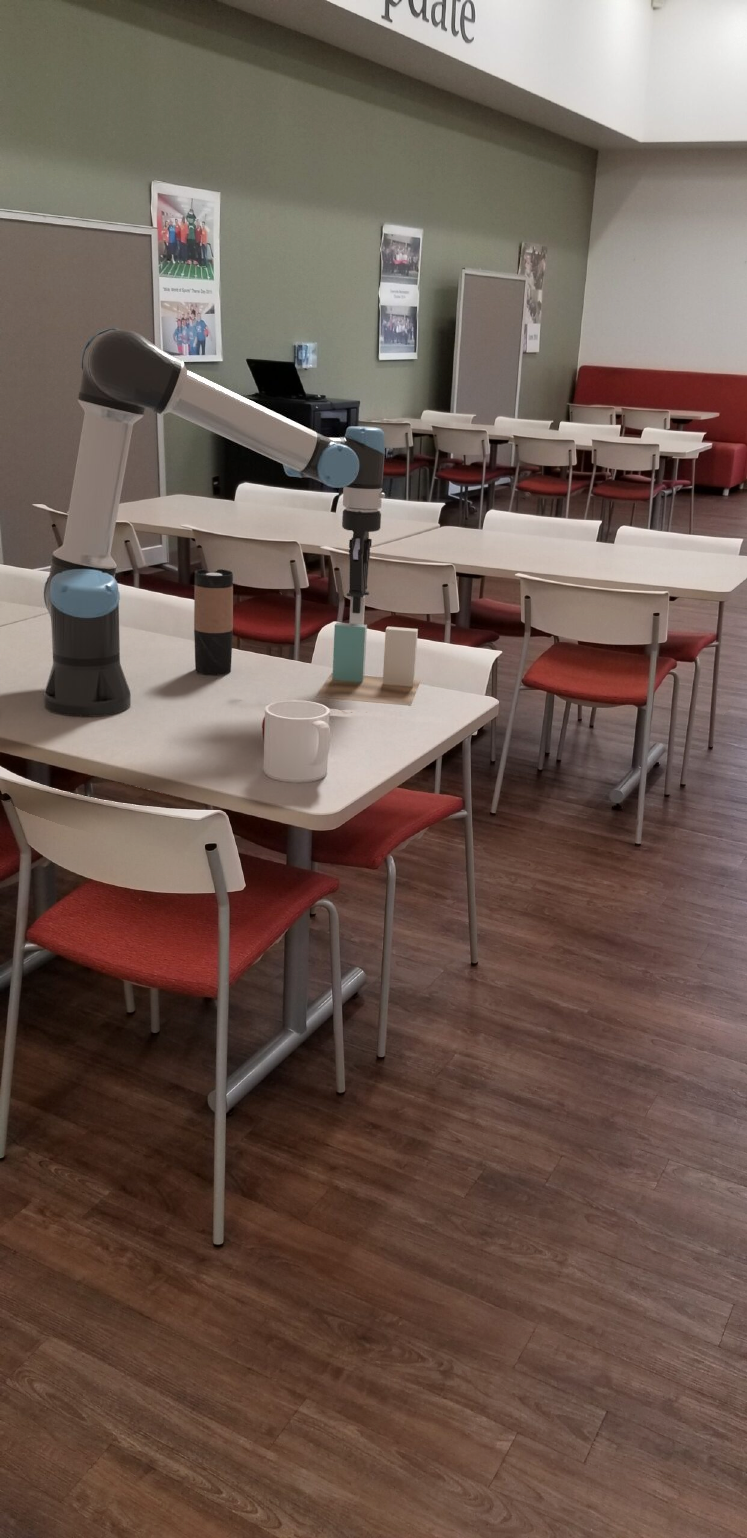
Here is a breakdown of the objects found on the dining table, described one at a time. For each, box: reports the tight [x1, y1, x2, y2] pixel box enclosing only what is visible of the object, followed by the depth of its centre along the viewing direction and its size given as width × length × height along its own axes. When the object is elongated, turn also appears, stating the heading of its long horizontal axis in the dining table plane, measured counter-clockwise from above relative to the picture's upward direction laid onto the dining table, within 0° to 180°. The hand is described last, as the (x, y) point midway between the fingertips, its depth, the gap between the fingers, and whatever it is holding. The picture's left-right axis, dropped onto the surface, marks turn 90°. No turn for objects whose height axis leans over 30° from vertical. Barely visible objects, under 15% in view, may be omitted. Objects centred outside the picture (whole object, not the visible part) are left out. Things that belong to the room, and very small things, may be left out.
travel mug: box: [193, 568, 234, 676], centre depth 238 cm, size 8×8×20 cm
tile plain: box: [382, 626, 419, 687], centre depth 233 cm, size 2×6×11 cm, turn 82°
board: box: [315, 672, 421, 707], centre depth 231 cm, size 18×18×1 cm
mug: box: [263, 699, 331, 784], centre depth 185 cm, size 13×10×10 cm
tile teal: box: [332, 621, 368, 682], centre depth 234 cm, size 2×6×11 cm, turn 82°
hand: (356, 627), depth 240 cm, fingers closed
